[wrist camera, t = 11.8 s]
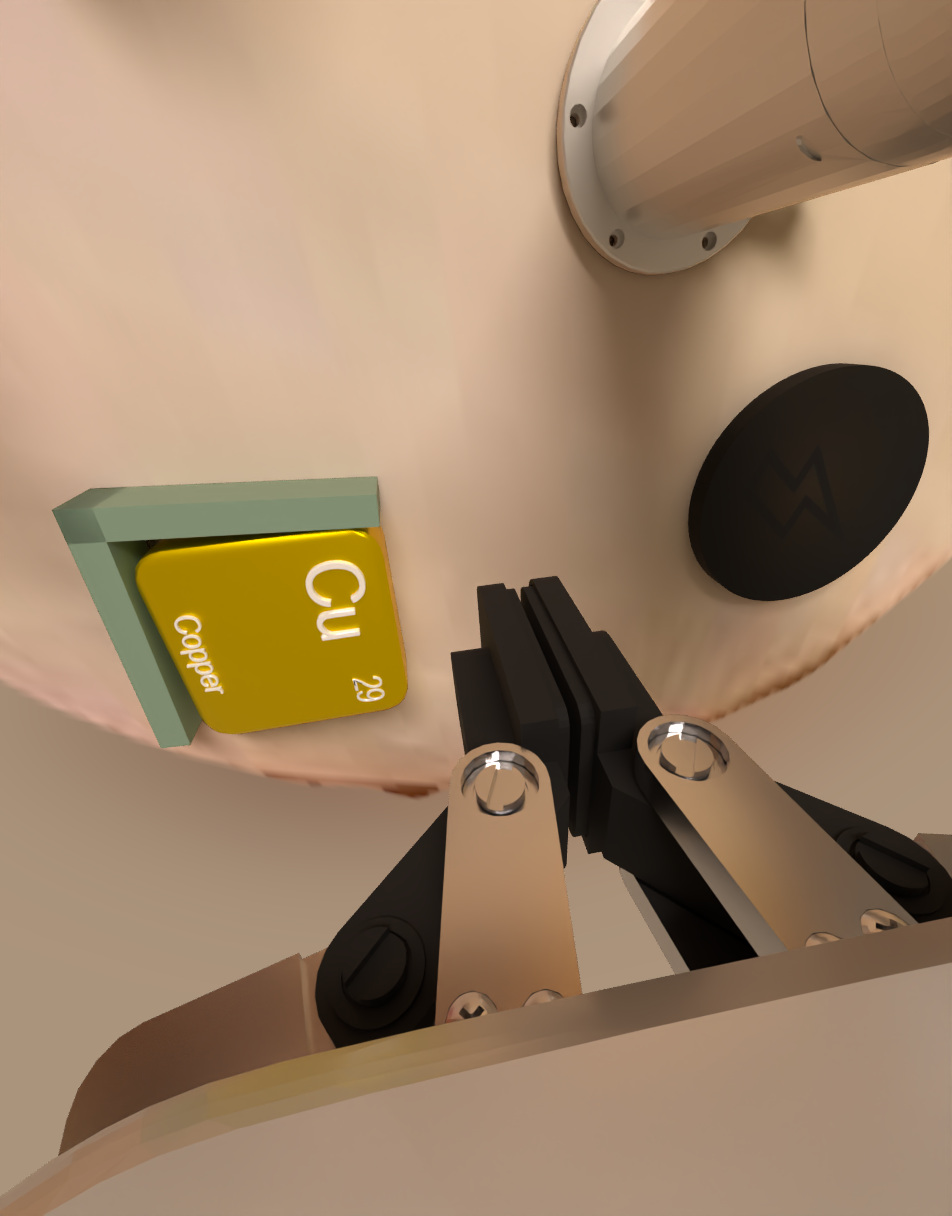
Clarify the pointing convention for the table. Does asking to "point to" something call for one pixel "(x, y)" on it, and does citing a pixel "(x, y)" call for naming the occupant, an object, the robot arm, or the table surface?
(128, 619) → the corner stop
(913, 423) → the wireless charger
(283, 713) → the element tile
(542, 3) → the table surface
